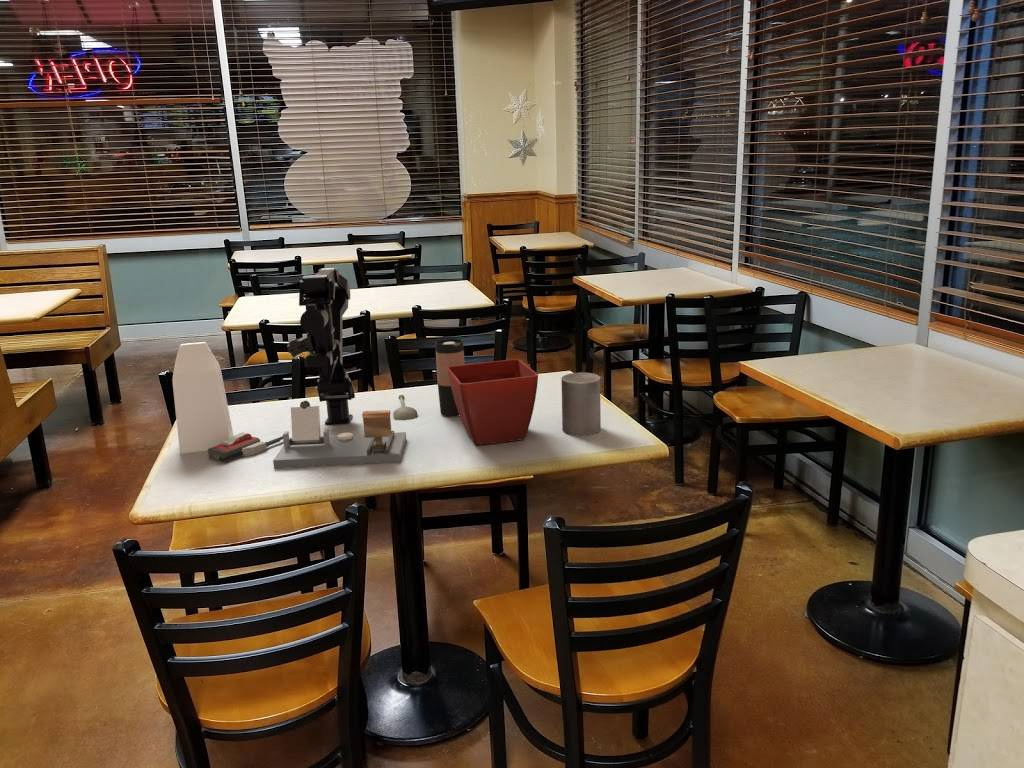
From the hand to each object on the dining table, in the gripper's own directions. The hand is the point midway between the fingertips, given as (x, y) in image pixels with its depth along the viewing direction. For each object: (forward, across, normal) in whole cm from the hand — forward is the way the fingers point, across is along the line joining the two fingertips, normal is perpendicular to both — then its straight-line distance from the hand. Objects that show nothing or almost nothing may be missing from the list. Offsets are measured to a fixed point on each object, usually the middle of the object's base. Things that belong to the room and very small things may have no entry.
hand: (327, 386), depth 211 cm
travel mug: (+13, -13, +31) cm, 36 cm away
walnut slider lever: (+11, +20, +14) cm, 27 cm away
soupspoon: (+14, -20, +17) cm, 30 cm away
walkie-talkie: (+14, +8, -19) cm, 25 cm away
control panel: (+13, +15, +5) cm, 20 cm away
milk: (+13, +1, -31) cm, 34 cm away
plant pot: (+13, +8, +42) cm, 44 cm away
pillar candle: (+13, +7, +64) cm, 65 cm away
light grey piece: (+10, +14, -4) cm, 17 cm away
